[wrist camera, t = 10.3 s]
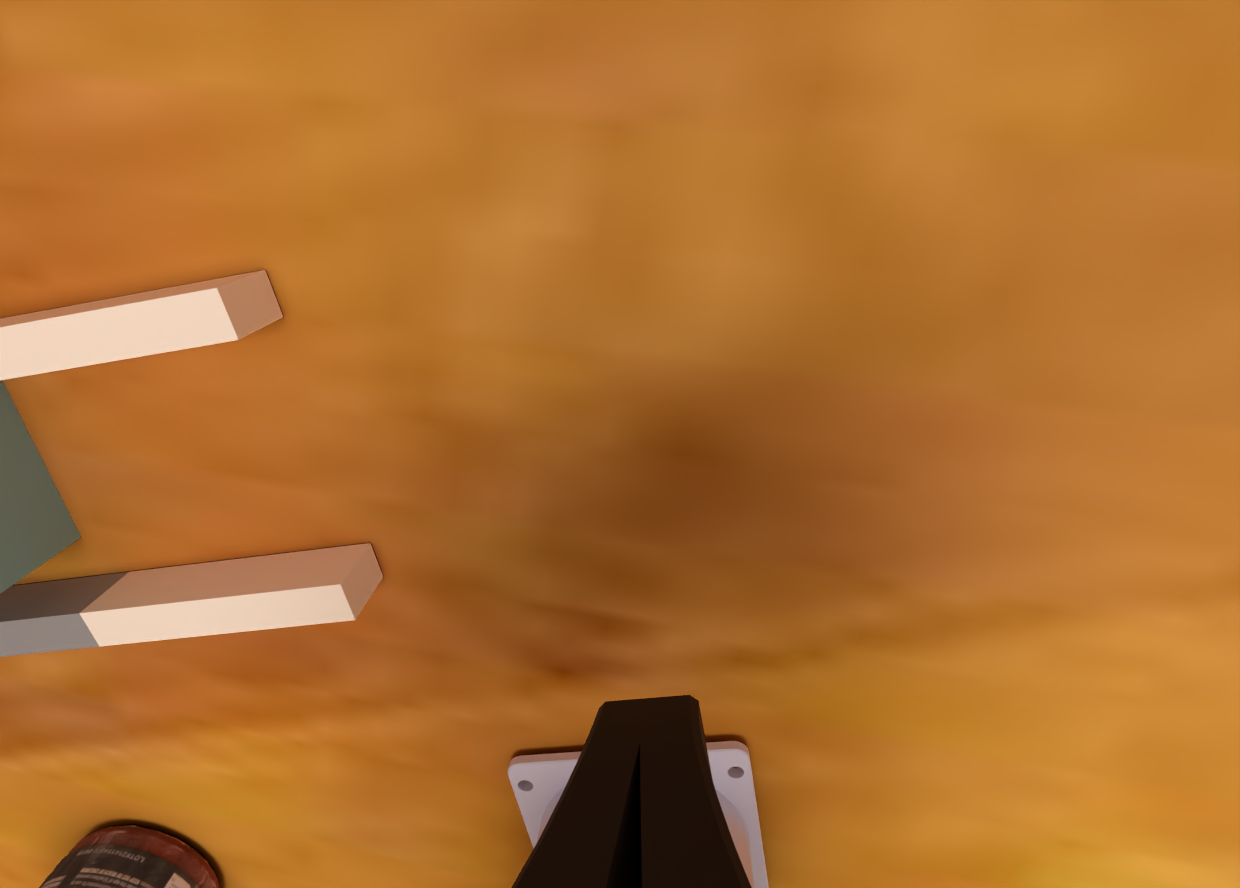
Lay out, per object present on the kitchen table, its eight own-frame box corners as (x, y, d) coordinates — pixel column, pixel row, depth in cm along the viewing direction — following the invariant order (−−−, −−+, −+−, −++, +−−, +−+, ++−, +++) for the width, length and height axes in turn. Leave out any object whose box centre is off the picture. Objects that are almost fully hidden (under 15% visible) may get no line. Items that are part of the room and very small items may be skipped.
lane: (383, 576, 21) (355, 620, 19) (-67, 626, 23) (-129, 669, 22) (265, 270, 17) (217, 287, 16) (-256, 365, 20) (-351, 391, 18)
